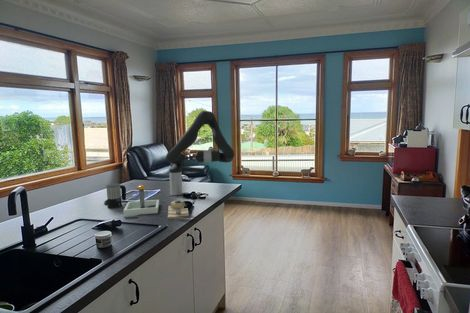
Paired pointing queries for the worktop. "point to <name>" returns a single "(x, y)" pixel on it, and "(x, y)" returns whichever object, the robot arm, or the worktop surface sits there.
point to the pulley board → (182, 213)
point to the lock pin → (141, 195)
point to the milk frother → (115, 195)
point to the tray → (134, 208)
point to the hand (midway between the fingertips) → (178, 157)
